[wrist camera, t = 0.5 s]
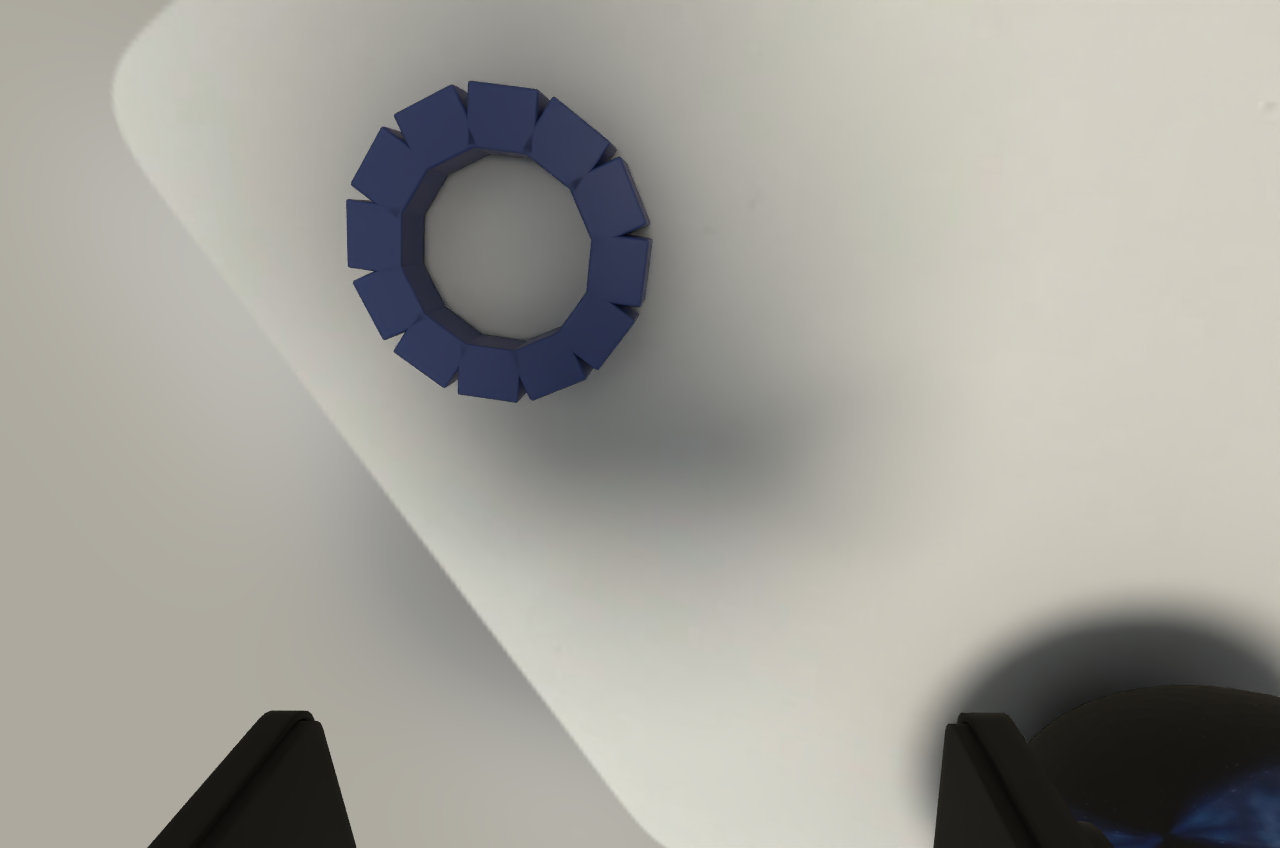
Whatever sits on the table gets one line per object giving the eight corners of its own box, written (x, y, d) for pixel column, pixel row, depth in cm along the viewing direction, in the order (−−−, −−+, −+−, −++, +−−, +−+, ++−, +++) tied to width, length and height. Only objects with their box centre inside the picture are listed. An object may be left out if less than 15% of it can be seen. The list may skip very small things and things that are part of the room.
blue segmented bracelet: (325, 277, 22) (295, 282, 20) (466, 26, 19) (445, 7, 18) (546, 437, 23) (534, 454, 22) (708, 223, 21) (710, 223, 19)
